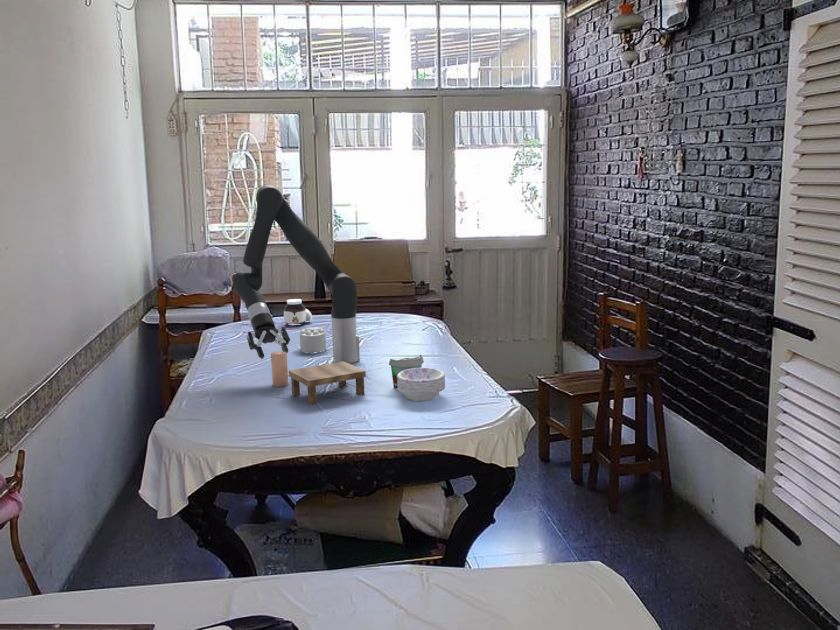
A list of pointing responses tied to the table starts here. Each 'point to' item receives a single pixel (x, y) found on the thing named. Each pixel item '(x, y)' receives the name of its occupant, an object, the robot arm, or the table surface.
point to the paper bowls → (421, 383)
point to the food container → (404, 366)
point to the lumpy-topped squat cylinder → (312, 340)
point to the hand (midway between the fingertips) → (274, 355)
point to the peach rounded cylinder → (279, 368)
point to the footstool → (326, 378)
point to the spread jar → (296, 312)
